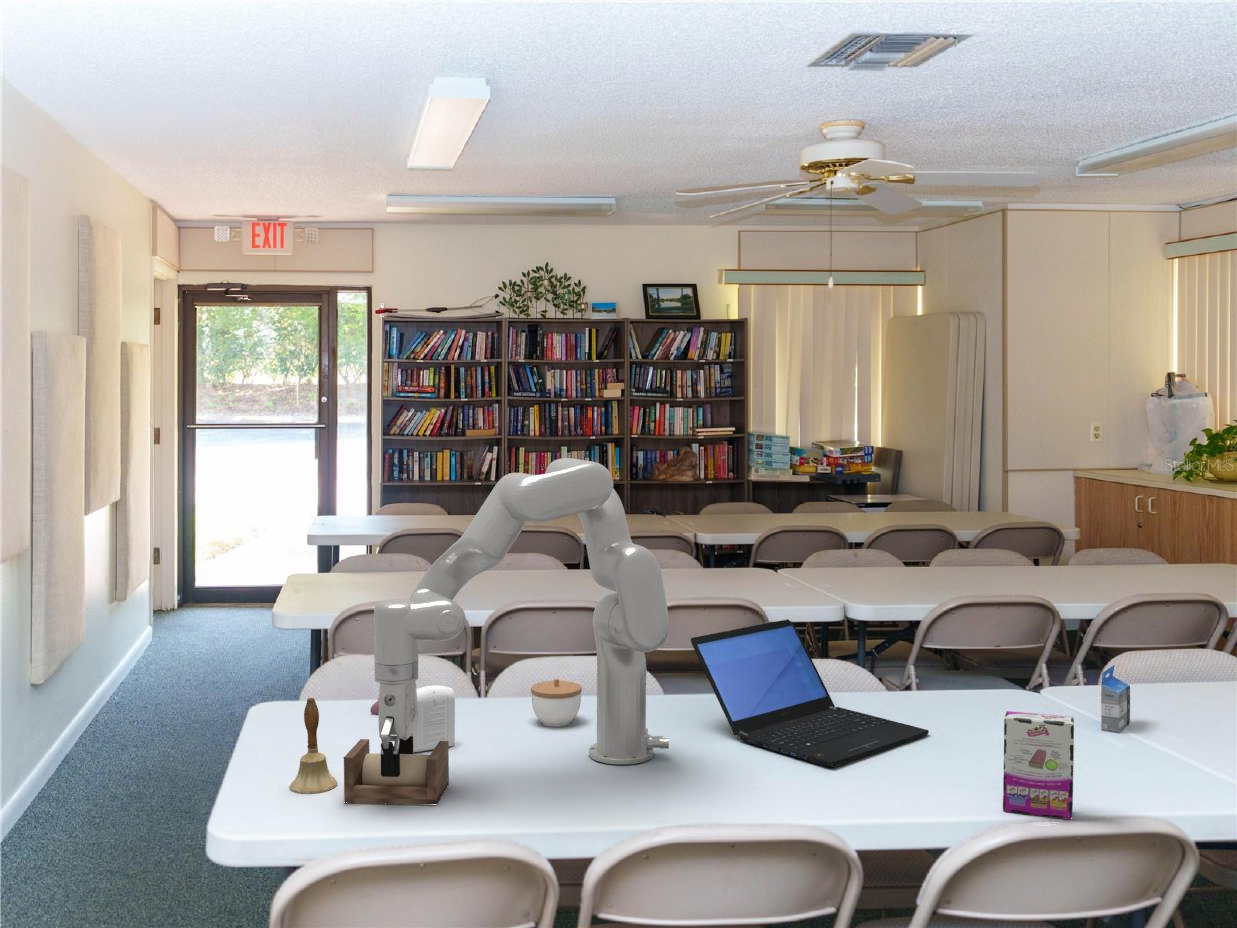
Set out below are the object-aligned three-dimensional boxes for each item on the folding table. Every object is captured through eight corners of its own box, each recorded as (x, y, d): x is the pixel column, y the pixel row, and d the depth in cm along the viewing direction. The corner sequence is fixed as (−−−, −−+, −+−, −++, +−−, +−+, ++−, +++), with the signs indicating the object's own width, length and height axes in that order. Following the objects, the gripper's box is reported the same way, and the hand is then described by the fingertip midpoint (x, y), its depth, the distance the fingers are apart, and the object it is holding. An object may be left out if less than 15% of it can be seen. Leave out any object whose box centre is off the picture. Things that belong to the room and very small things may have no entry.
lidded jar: (591, 724, 249) (591, 680, 248) (547, 732, 243) (547, 688, 242) (564, 712, 257) (564, 670, 257) (521, 720, 251) (521, 677, 251)
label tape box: (1119, 733, 243) (1121, 675, 243) (1099, 730, 246) (1100, 672, 245) (1130, 724, 250) (1132, 667, 250) (1110, 720, 253) (1112, 664, 252)
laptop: (831, 773, 219) (832, 670, 218) (687, 728, 247) (688, 637, 246) (931, 737, 242) (933, 644, 240) (789, 700, 269) (790, 616, 268)
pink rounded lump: (386, 722, 255) (401, 694, 255) (367, 713, 255) (382, 684, 255) (395, 709, 265) (409, 682, 265) (377, 700, 265) (390, 673, 264)
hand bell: (312, 797, 205) (311, 707, 204) (279, 788, 209) (278, 700, 208) (347, 783, 212) (346, 696, 211) (314, 775, 216) (313, 689, 215)
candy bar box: (1072, 810, 200) (1075, 715, 198) (1072, 820, 195) (1075, 723, 194) (1003, 802, 204) (1005, 709, 202) (1001, 811, 199) (1004, 716, 198)
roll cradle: (448, 784, 211) (448, 740, 211) (436, 805, 201) (436, 759, 200) (361, 782, 212) (360, 739, 212) (344, 803, 202) (343, 757, 201)
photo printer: (449, 740, 237) (448, 680, 236) (458, 746, 233) (458, 685, 233) (401, 749, 231) (400, 687, 231) (410, 755, 228) (409, 692, 227)
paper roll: (433, 781, 209) (432, 749, 209) (425, 795, 203) (425, 762, 203) (371, 780, 210) (370, 748, 209) (362, 793, 204) (361, 760, 203)
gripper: (406, 683, 196) (406, 784, 197) (428, 659, 213) (429, 751, 215) (361, 683, 197) (362, 783, 198) (387, 658, 214) (388, 751, 215)
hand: (397, 766), depth 206 cm, fingers open, 9 cm apart
